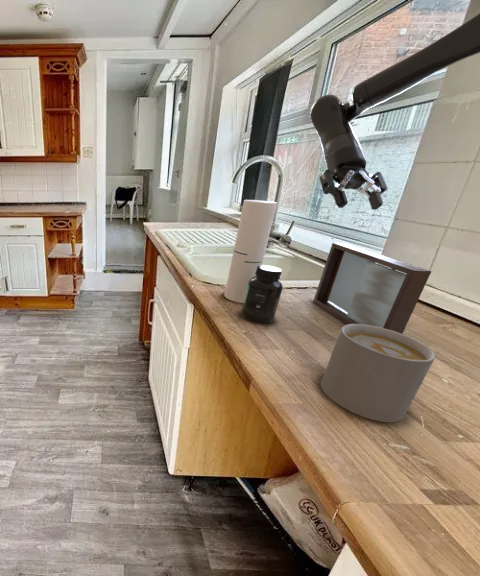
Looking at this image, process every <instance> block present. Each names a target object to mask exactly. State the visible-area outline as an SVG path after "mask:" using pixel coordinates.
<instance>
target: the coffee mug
mask: <svg viewBox="0 0 480 576" xmlns="http://www.w3.org/2000/svg"><path fill="white" fill-rule="evenodd" d="M435 359H436V354H435V353H434V351H433V350H432V349H431V348H430V347H429V346H427V344H424V343H422V342H421V341H418V340H417V339H415V338H413V337H411V336H408V335H407V334H406V335H405V334H404V333H403V334H400V333H398V332H395V331H392V330H388V329H384V328H381V327H376V326H371V325H364V324H348V325H347V324H345V325H343V326H342V327H341V329H340V331H339V334H338V336H337V339H336V341H335V344H334V346H333V349H332V352H331V355H330V357H329V360H328V362H327V364H326V367H325V370H324V373H323V375H322V378H321V381H320V387H321V390H322V391H323V393H324V394H325V395H326V396H327V397H328V398H329V399H330V400H331V401H332V402H334V403H336V404H337V405H338V406H340V407H341V408H343V409H345V410H347V411H349V412H350V413H353V414H354V415H358V416H360V417H363V418H365V419H369V420H371V421H376V422H382V423H398V422H400V421H402V420H403V419H404V417H405V416H406V414H407V412H408V410H409V408H410V406H411V405H412V403H413V401H414V400H415V396H416V395H417V393H418V391H419V389H420V387H421V385H422V383H423V381H424V379H425V378H426V376H427V374H428V372H429V371H430V368H431V366H432V364H433V363H434V361H435Z"/></svg>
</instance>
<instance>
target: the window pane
mask: <svg viewBox="0 0 480 576" xmlns="http://www.w3.org/2000/svg"><path fill="white" fill-rule="evenodd" d="M368 261H370V260H367V259H364V258H362V257H359V256H356V255H353V254H351V253H348V252H345V251H342V253H341V256H340V259H339V262H338V265H337V268H336V271H335V274H334V277H333V279H332V282H331V285H330V288H329V291H328V294H327V297H326V299H327V300H328V301H330V302H332V303H333V304H335V305H336V306H338V307H340V308H341V309H343V310H345V311H346V312H349V309H350V306H351V304H352V301H353V298H354V296H355V293H356V291H357V288H358V285H359V283H360V280H361V277H362V275H363V272H364V270H365V267H366V264H367V262H368ZM371 262H373V261H371ZM374 263H376V262H374ZM386 267H387V266H386ZM387 268H389V267H387ZM390 269H392V268H390ZM393 270H395V269H393Z"/></svg>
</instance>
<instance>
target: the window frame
mask: <svg viewBox="0 0 480 576" xmlns="http://www.w3.org/2000/svg"><path fill="white" fill-rule="evenodd" d="M342 251H345V252H348V253H351V254H353V255H356V256H359V257H362V258H364V259H367V260H370V261H368V262H367V264H366V267H365V270H364V272H363V275H362V277H361V280H360V283H359V285H358V288H357V291H356V293H355V296H354V298H353V301H352V304H351V306H350V309H349V312H346V311H345V310H343V309H341V308H340V307H338V306H336V305H335V304H333V303H332V302H330V301H328V300H327V299H326V297H327V294H328V291H329V288H330V285H331V282H332V279H333V277H334V274H335V271H336V268H337V265H338V262H339V259H340V256H341V253H342ZM371 261H373V262H371ZM374 262H375V263H374ZM387 267H389V268H387ZM390 268H392V269H390ZM393 269H395V270H393ZM431 273H432V270H429V269H426V268H424V267H420V266H417V265H414V264H410V263H407V262H405V261H401V260H398V259H395V258H392V257H389V256H386V255H383V254H380V253H377V252H374V251H370V250H367V249H365V248H362V247H358V246H355V245H352V244H349V243H347V242H332V243H331V247H330V249H329V253H328V255H327V259H326V262H325V264H324V268H323V271H322V273H321V277H320V279H319V283H318V285H317V289H316V291H315V295H314V298H313V303H314V304H316V305H317V306H319V307H321V308H322V309H324V310H325V311H327V312H328V313H329V314H331V315H333V316H334V317H335V318H337V319H339V320H340V321H341V322H342V323H344V324H345V325H348V324H364V325H371V326H376V327H381V328H384V329H388V330H392V331H395V332H398V333H400V334H403V335H404V331H405V330H406V327H407V325H408V323H409V320H410V319H411V316H412V314H413V312H414V310H415V308H416V306H417V303H418V301H419V299H420V298H421V295H422V293H423V290H424V288H425V286H426V284H427V283H428V280H429V278H430V276H431Z"/></svg>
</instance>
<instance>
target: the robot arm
mask: <svg viewBox="0 0 480 576" xmlns="http://www.w3.org/2000/svg"><path fill="white" fill-rule="evenodd" d="M478 54H480V12H479V13H477V14H476V15H475V16H473V17H471V19H468V20H467V21H466V22H464V23H462V24H461V25H460V26H458V27H457V28H455V29H454V30H452V31H450V32H449V33H447V34H445V35H444V36H443V37H441V38H439V39H437V40H436V41H434V42H433V43H431V44H429V45H427V46H425V47H424V48H422V49H420V50H418V51H417V52H414V53H413V54H410V55H409V56H407V57H405V58H404V59H402V60H400V61H398V62H396V63H394V64H392V65H391V66H389V67H386V68H385V69H383V70H381V71H379V72H377V73H375V74H374V75H371V76H370V77H367V78H366V79H364V80H362V81H361V82H359V83H357V84H356V85H355V86H353V88H352V91H351V98H350V99H349V100H348V101H347V102H345V103H343V102H342V100H340V98H339V97H338V96H337V95H335V94H325V95H322V96H319V98H318V99H316V100H315V101H314V102H313V104H312V105H311V107H310V110H309V118H310V122H311V123H312V125H313V128H314V129H315V131H316V133H317V135H318V137H319V141H320V144H321V148H322V152H323V157H324V158H323V159H324V161H325V164H326V169H325V171H323V172H322V174H321V175H320V176H319V182H320V185H321V188H322V192H323V194H324V195H328V194H329V195H331V197H333V199H334V203H335V205H336V206H337V208H338V209H343V208H344V207H346V206H347V205H348V203H349V202H348V198H347V195H346V192H345V190H353V191H355V190H356V192H358V193H360V194H364V195H365V196H366V197H367V198H368V202H369V205H370V207H371V210H378V209H379V208H381V207H382V206H383V205H384V201H383V198H382V196H381V195H383V194H384V193H385V192H387V190H388V185H387V183H386V181H385V179H384V177H383V174H382V173H381V171H376V172H374V173H369V172H368V171H367V169H366V167H367V160H366V157H365V154H364V152H363V149H362V146H361V144H360V142H359V140H358V138H357V136H356V134H355V132H354V130H353V127H352V125H351V124H350V122H352V121H353V120H354V119H356V118H358V117H359V116H361V115H362V114H363V113H364V112H365V111H367V110H369V109H370V108H372V107H373V108H374V107H375V106H377V105H379V104H381V103H384V102H386V101H388V100H390V99H392V98H393V97H396V96H398V95H400V94H402V93H403V92H405V91H407V90H409V89H411V88H412V87H414V86H416V85H417V84H419V83H420V82H422V81H424V80H426V79H428V78H429V77H431V76H433V75H434V74H436V73H438V72H440V71H442V70H444V69H446V68H448V67H450V66H452V65H454V64H456V63H459V62H460V61H463V60H465V59H467V58H470V57H473V56H476V55H478ZM335 183H336V184H335ZM365 184H366V185H365ZM364 185H365V186H364ZM363 186H364V187H363ZM369 189H371V190H369Z"/></svg>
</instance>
